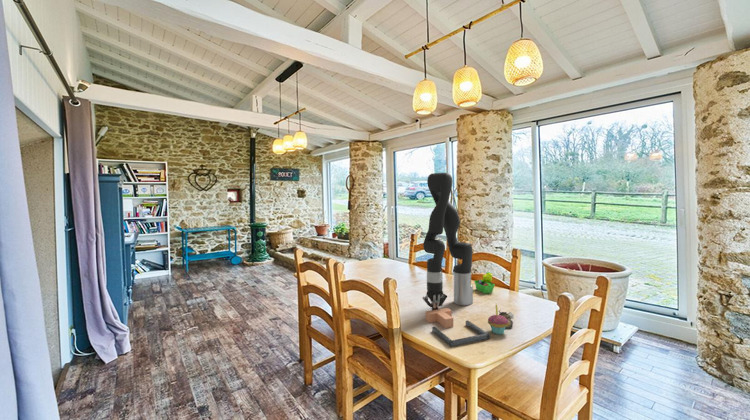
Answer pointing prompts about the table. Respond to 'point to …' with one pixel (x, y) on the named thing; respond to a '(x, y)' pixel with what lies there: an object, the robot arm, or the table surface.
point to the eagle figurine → (509, 317)
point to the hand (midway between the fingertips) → (435, 314)
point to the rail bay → (463, 341)
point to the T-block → (440, 317)
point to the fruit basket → (485, 284)
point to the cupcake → (498, 323)
